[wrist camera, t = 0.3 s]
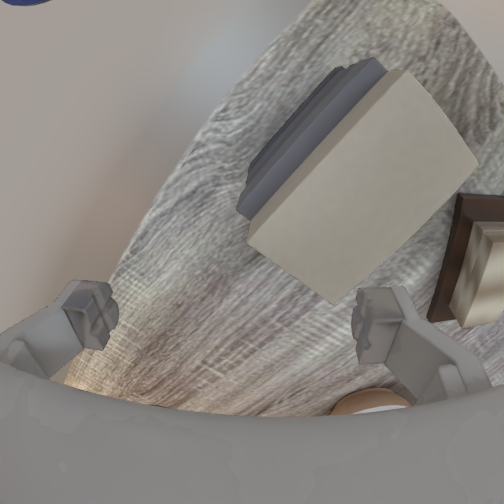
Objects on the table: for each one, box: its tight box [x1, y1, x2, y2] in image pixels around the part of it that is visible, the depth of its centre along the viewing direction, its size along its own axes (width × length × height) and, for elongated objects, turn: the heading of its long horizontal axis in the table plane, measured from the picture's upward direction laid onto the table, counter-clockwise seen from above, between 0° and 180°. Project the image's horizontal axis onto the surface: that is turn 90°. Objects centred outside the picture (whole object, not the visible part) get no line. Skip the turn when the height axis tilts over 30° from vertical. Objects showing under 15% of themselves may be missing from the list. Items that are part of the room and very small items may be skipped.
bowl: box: [329, 388, 411, 416], centre depth 39 cm, size 16×16×8 cm
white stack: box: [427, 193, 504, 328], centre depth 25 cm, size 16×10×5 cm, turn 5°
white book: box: [247, 70, 479, 305], centre depth 14 cm, size 11×6×2 cm, turn 142°
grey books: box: [236, 57, 388, 221], centre depth 19 cm, size 11×8×10 cm
